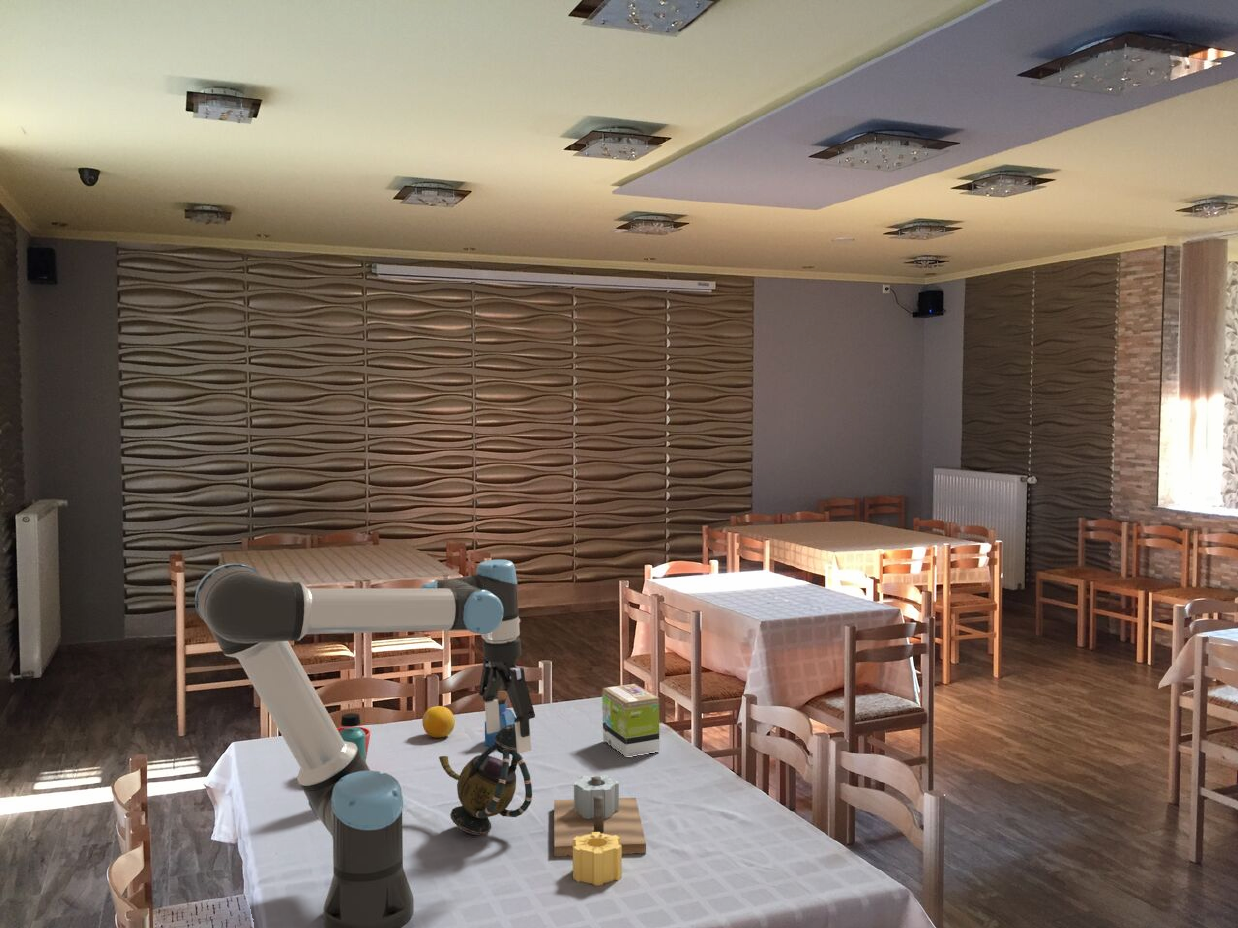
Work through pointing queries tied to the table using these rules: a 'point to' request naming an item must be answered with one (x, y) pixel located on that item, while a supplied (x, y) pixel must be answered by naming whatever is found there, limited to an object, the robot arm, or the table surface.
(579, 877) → the ochre gear
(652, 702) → the tea box
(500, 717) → the perfume bottle
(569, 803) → the gear board
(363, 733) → the beverage bottle
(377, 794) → the robot arm
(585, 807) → the pale grey gear
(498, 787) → the teapot
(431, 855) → the table surface
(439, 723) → the fruit
